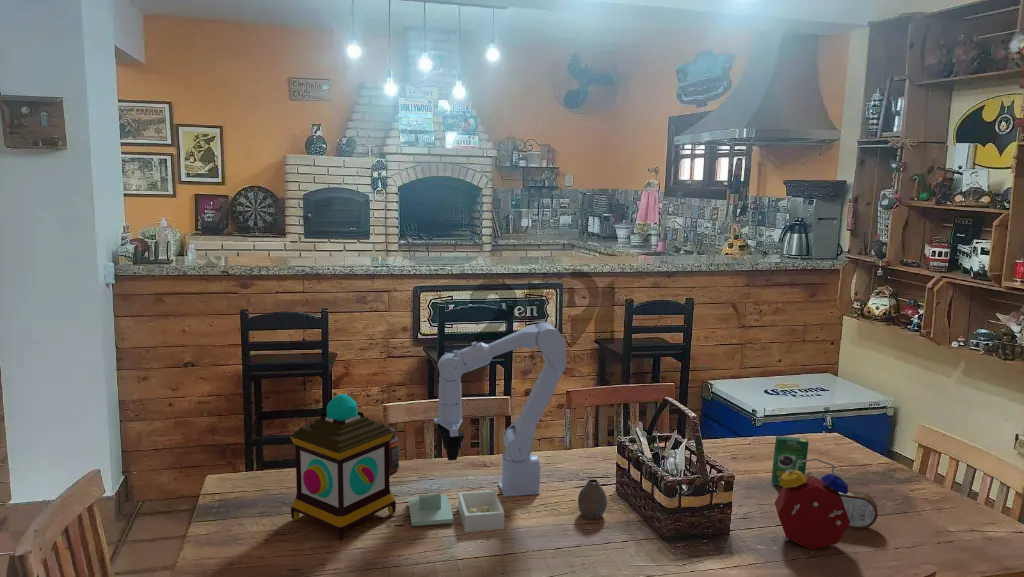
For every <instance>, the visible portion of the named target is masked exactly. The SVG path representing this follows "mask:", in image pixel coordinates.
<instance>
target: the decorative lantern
mask: <svg viewBox="0 0 1024 577" xmlns="http://www.w3.org/2000/svg"><path fill="white" fill-rule="evenodd" d="M390 428H391V427H389V426H387V425H385V424H384V423H383V422H379V421H376V420H373V419H370V418H369V417H368V416H366V415H365V414H364V412H361V411H358V405H357V402H356V401H355V400H354V399H353V398H352V397H351V396H350V395H348V394H345V393H339V394H337V395H335V396H334V397H333V398H332V399H331V400H330V401H329V402H328V403H327V405H326V413H323V414H320V417H319V418H316V419H315V421H312V422H311V423H308V424H306V425H302V426H300V427H299V428H298V429H297V430H295V431H293V433H292V434H290V436H289V438H290V439H291V441H292V443H293V445H294V448H295V449H294V450H295V473H296V474H295V475H296V476H295V477H296V496H295V498H294V500H293V502H292V504H291V506H290V516H291V518H292V520H293V521H297V520H298V519H299V518H300V514H301V515H304V516H306V517H308V518H311V519H313V520H316V521H317V522H320V523H322V524H325V525H327V526H328V527H331V528H332V529H334V530H335V531H336V534H337V539H338V541H340V542H342V541H344V539H345V534H346V531H347V529H348V528H349V527H351V526H353V525H355V524H358V523H359V522H361V521H363V520H365V519H367V518H369V517H370V516H372V515H375V514H376V513H379V512H381V511H383V510H385V509H386V508H387V510H388V514H390V515H391V516H392V515H394V514H395V513H396V508H397V502H396V499H395V498H394V495H393V493H392V492H391V489H390V488H391V487H390V473H389V442H390V440H391V438H392V436H393V433H394V431H393V430H391V429H390Z"/></svg>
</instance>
